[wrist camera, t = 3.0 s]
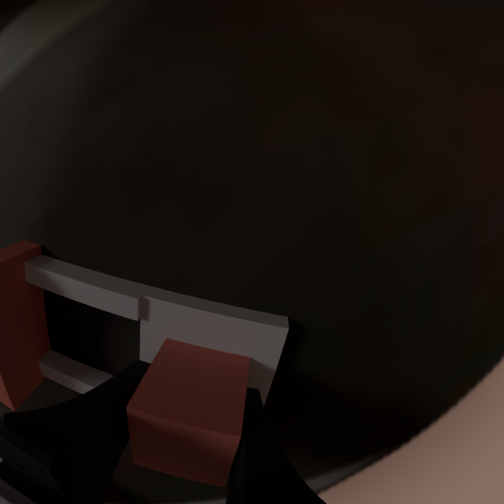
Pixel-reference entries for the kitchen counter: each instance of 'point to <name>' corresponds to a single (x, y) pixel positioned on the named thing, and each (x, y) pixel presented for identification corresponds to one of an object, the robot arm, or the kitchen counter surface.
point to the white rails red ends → (145, 359)
